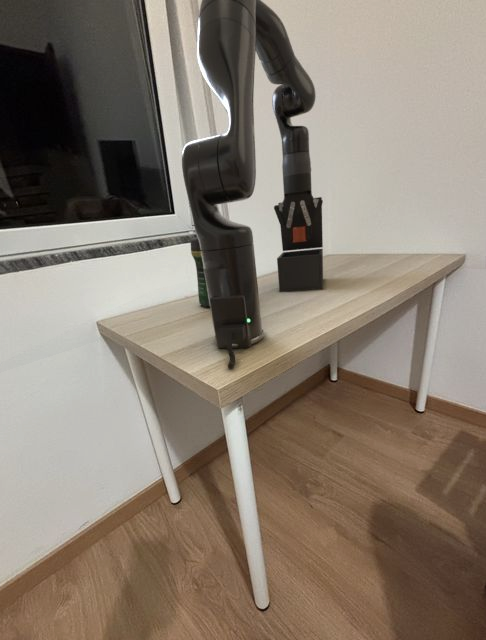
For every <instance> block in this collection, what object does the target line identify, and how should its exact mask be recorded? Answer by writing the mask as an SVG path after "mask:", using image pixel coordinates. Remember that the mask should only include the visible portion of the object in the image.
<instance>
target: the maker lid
mask: <svg viewBox="0 0 486 640" xmlns="http://www.w3.org/2000/svg"><path fill="white" fill-rule="evenodd" d="M313 198H314V199H319V200H320V199H322V200H323V197H322V196H319V197H313ZM281 203H283V201H281V202H278V204H277V205H279V204H281ZM315 212H316V207H315V206H314V202H313V203H312V204H311V206H310V208H309V209H308V213H309V216H310V219H311V220H312V219H314V216H315ZM281 213H282V216H283V218H284V221H285V222H287V221H288V215H289V212H288V211H287V209H286V208H285V207H284V206H283V211H282V212H281ZM279 225H280V224H279ZM299 226H307V223H306V220H305V217H304V214H297V215H294V217H293V221H292V227H299ZM279 228H280V237H281V248H282V252H291V251H301V250H312V249H322V248H324V247H323V246H324V243H323V241H324V240H323V206H322V207H321V211H320V214H319V218H318V221H317V222H316V223H314V224H312V226H311V229H312V236H311V238H309V240H307V241H304V242H290V240H288V238H287V228H286V227H283V226H281V225H280V227H279Z"/></svg>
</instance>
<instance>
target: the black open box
mask: <svg viewBox="0 0 486 640" xmlns="http://www.w3.org/2000/svg"><path fill="white" fill-rule="evenodd" d="M276 263H277V264H276V265H277V276H278V277H277V278H278V290H279V292H280V293H284V292H300V291H316V290H317V291H318V290H323V288H324V249H323V248H311V249H301V250H290V251H282V252H281V254H280V255H279V256H277V257H276Z"/></svg>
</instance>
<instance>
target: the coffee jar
mask: <svg viewBox="0 0 486 640" xmlns="http://www.w3.org/2000/svg"><path fill="white" fill-rule="evenodd" d="M190 254H191V256H192V258H193V260H194V263H195V269H196V279H197V294H198V302H199V304H200V305H201V306H202V307H205V308H206V307H210V303H209V297H208V291H207V285H206V279H205V273H204V267H203V261H202V255H201V249H200V244H199V240H198V237H197V236H196V237H192V238H191V239H190Z"/></svg>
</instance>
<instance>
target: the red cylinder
mask: <svg viewBox="0 0 486 640" xmlns="http://www.w3.org/2000/svg"><path fill="white" fill-rule="evenodd" d="M292 240H293V242H304V241H307V236H306V226H299V227H292Z"/></svg>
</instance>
